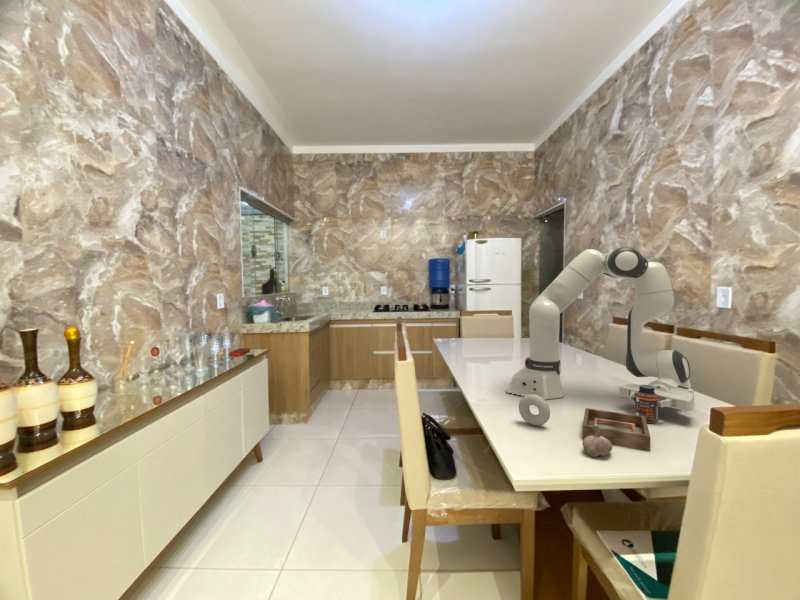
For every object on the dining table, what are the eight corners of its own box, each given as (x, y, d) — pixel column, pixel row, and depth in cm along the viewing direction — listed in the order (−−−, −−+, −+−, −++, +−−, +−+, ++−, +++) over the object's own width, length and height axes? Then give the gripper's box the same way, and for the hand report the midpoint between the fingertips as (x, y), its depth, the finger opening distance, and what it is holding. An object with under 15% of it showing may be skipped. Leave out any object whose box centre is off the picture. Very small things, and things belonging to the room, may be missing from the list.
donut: (516, 423, 113) (516, 392, 113) (521, 419, 116) (520, 390, 116) (548, 431, 107) (547, 399, 106) (552, 427, 109) (551, 396, 109)
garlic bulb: (590, 460, 89) (590, 429, 88) (575, 447, 96) (575, 419, 96) (620, 459, 89) (619, 429, 88) (603, 446, 96) (603, 418, 96)
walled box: (582, 438, 101) (582, 425, 101) (585, 419, 114) (585, 407, 114) (650, 451, 92) (650, 436, 92) (644, 429, 106) (644, 416, 106)
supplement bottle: (636, 422, 111) (636, 387, 111) (634, 416, 117) (634, 382, 116) (659, 425, 108) (659, 389, 108) (656, 418, 114) (656, 384, 113)
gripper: (628, 377, 128) (610, 384, 120) (699, 390, 111) (684, 399, 103) (628, 394, 128) (610, 402, 120) (699, 409, 111) (683, 420, 104)
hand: (645, 401), depth 112 cm, fingers open, 6 cm apart
